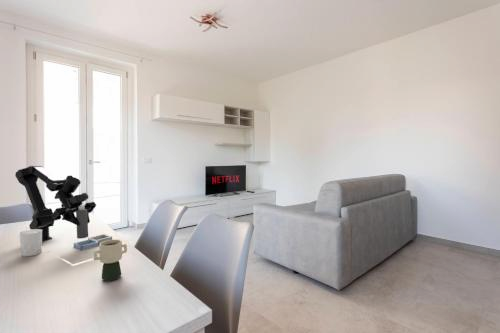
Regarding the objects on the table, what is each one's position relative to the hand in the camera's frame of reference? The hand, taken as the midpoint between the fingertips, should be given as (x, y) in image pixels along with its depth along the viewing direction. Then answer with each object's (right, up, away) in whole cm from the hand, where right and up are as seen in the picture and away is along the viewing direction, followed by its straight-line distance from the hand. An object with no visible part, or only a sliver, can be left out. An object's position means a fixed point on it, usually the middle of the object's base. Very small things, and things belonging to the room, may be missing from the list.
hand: (84, 223), depth 125 cm
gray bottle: (-1, -6, +1) cm, 7 cm away
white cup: (-19, -12, -7) cm, 23 cm away
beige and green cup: (+29, -13, -31) cm, 44 cm away
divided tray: (+1, -11, +4) cm, 12 cm away
